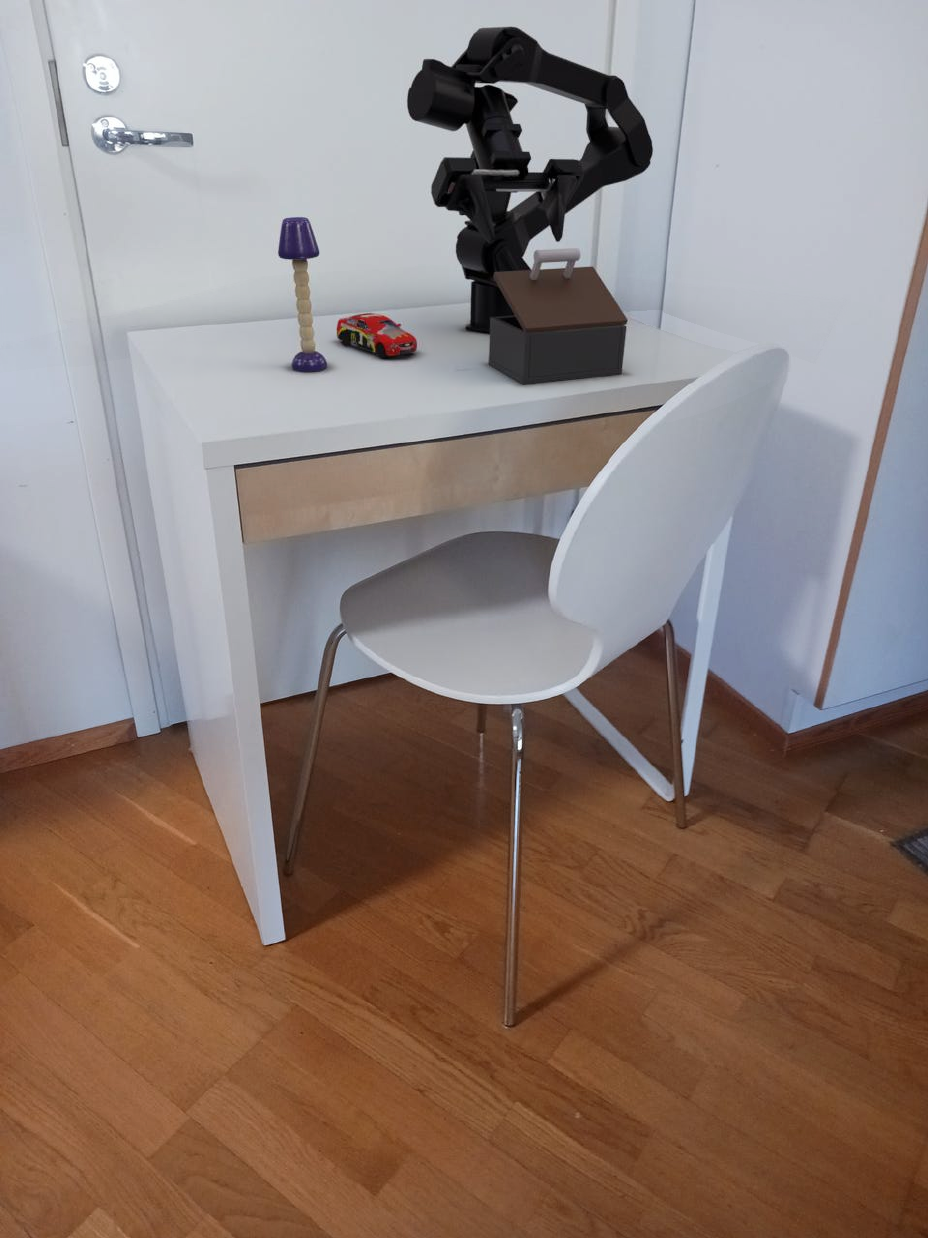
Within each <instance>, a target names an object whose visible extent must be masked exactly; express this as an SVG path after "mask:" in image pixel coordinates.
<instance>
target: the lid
mask: <svg viewBox="0 0 928 1238" xmlns="http://www.w3.org/2000/svg"><path fill="white" fill-rule="evenodd" d="M580 259H581V250H580V248H578V247H571V248H552V249H536V250H535V251H534V252H533V264H532V267H531V270H522V271H505V272H494V275H493V277H494V279H495V281H496V283H497V285H498V286H499V288H500V290H501V292H502V293H503V295H504V297H505V299H506V300H507V302H508V304H509V306H510V307H511V309H512V311H513V313H514V315H515V316H516V318H517V320H518V322H519V323H520V325H521V327H522V329H523V330H524V332H525V333H532V332H544V331H556V330H568V329H580V328H592V327H604V326H616V325H625V326H627V323H628V321H629V320H628V318H627V317H626V315H625V313H624V311H623V310H622V308H621V307H620V306H619V304H618V302H617V301H616V299H615V298H614V297H613V295H612V293H611V292H610V290H609V289H608V287H607V285H606V284H605V283H604V281H603V280H602V278H601V276H600V275H599V274H598V271H597V270H596V269H595V267H594V266H577V267H576V266H575V265H576V262H578V261H579V260H580ZM564 262H566V265H565V267H560V268H559V267H558V268H557V267H556V268H543V269H541V268H542V264H547V263H564Z"/></svg>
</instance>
